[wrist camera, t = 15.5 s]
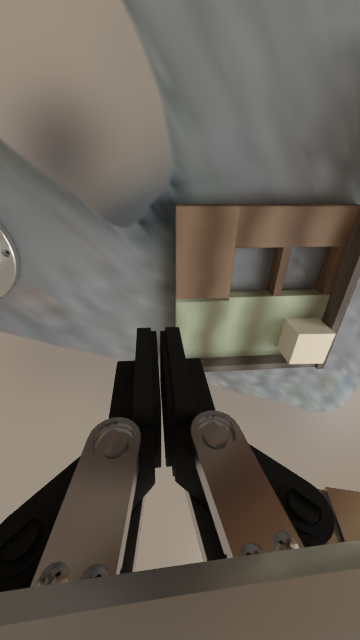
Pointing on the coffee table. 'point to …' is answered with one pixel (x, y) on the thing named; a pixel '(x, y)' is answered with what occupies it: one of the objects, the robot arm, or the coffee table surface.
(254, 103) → the coffee table surface
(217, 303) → the box
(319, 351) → the block
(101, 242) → the coffee table surface
